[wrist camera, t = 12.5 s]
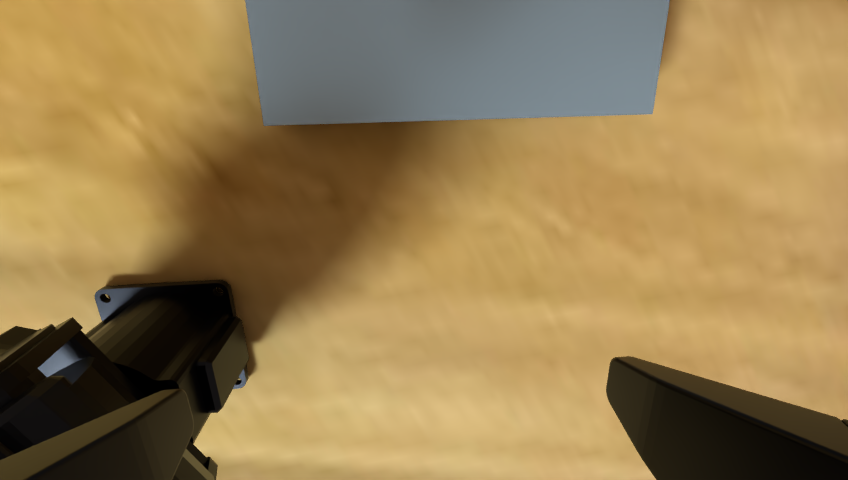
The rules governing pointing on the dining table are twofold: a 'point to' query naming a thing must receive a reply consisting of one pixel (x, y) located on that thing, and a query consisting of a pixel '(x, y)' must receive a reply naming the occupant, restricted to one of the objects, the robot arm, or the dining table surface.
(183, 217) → the dining table surface
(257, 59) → the plate
